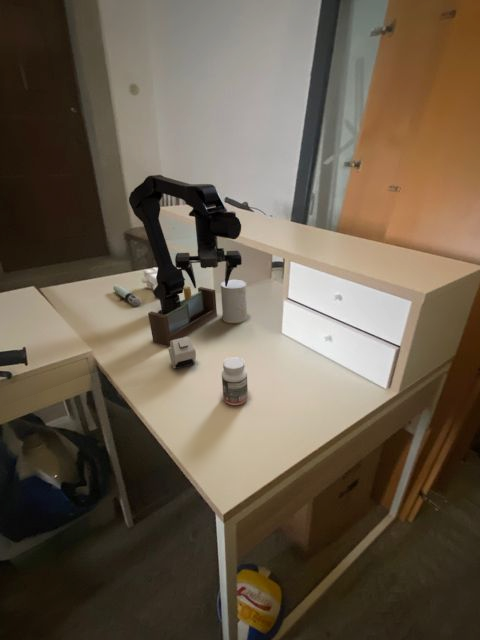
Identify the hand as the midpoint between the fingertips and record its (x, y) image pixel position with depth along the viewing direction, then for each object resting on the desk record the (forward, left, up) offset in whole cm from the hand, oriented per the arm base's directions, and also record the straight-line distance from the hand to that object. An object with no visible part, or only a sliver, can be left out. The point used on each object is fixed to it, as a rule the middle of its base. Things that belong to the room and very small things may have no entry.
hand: (210, 287), depth 107 cm
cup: (+2, +9, -14) cm, 16 cm away
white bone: (-37, +14, -14) cm, 41 cm away
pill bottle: (+26, -27, -14) cm, 40 cm away
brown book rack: (-7, -5, -13) cm, 16 cm away
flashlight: (-43, +2, -14) cm, 45 cm away
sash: (-8, 0, -12) cm, 14 cm away
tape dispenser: (+6, -22, -14) cm, 27 cm away
